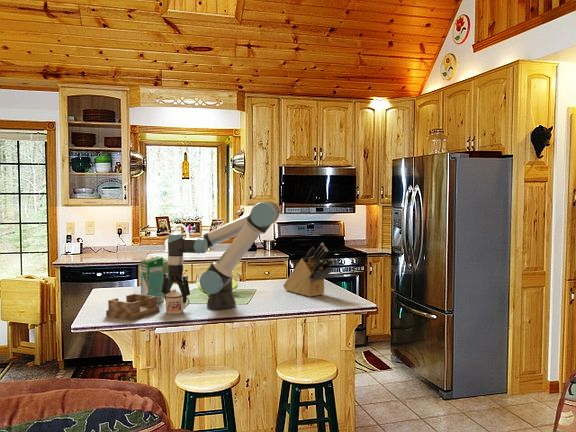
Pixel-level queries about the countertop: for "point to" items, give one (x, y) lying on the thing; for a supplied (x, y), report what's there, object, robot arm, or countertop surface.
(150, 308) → the walnut cup stand
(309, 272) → the knife block
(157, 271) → the milk carton
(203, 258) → the countertop surface
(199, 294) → the countertop surface
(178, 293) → the teacup with lid
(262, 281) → the countertop surface
